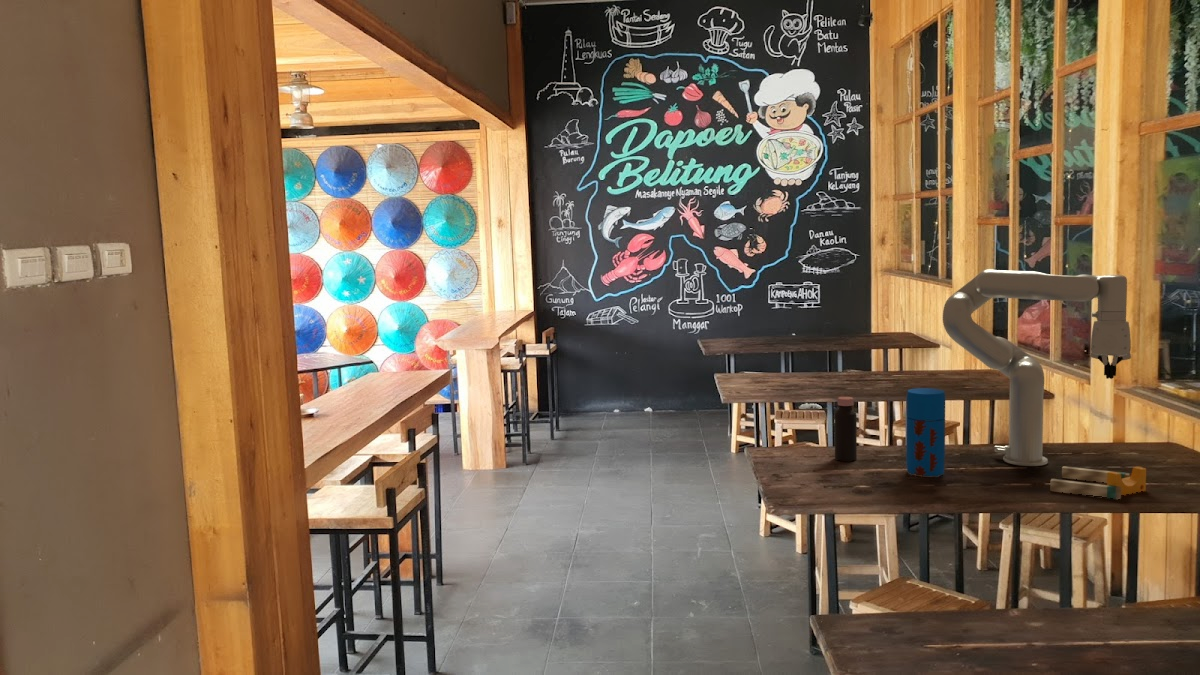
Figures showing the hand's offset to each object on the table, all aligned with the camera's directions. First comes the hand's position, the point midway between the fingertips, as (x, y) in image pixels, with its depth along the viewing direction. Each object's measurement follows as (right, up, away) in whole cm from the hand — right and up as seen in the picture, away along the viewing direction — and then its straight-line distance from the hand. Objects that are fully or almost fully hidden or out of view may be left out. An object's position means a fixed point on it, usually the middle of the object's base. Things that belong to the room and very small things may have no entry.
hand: (1109, 378), depth 281 cm
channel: (-15, -30, -18) cm, 38 cm away
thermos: (-54, -29, +3) cm, 61 cm away
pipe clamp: (-9, -31, -23) cm, 39 cm away
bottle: (-73, -27, +23) cm, 81 cm away
